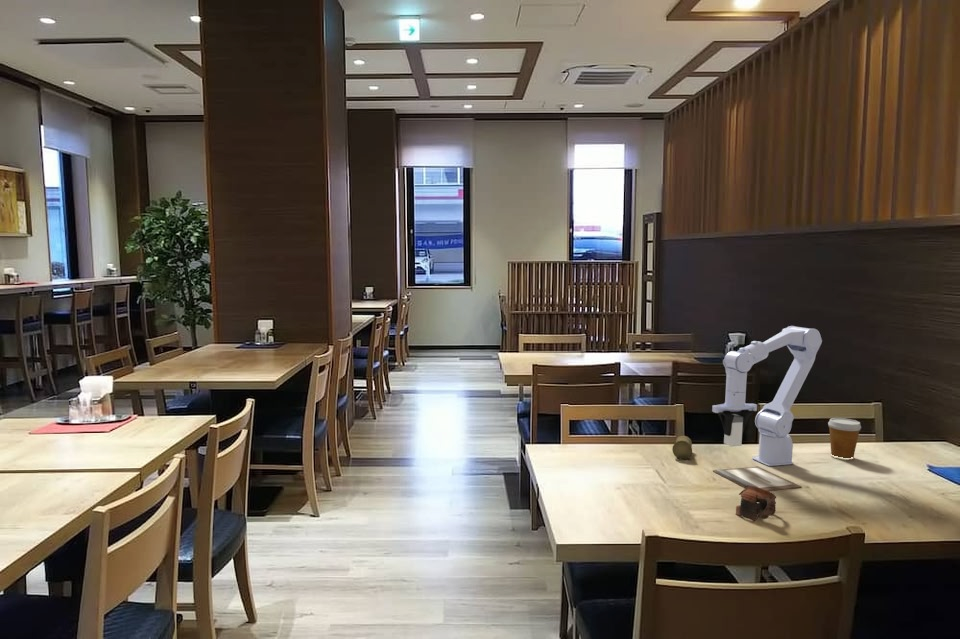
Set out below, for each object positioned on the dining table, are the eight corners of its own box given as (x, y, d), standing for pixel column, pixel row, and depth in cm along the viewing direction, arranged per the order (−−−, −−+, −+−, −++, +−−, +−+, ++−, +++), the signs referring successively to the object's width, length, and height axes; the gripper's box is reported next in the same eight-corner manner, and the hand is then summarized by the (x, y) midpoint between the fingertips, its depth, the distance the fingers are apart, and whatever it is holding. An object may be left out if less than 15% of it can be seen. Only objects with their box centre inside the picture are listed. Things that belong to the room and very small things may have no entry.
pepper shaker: (689, 461, 208) (691, 453, 218) (694, 443, 207) (695, 436, 217) (670, 456, 210) (672, 448, 220) (674, 438, 209) (676, 431, 219)
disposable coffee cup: (865, 462, 209) (867, 425, 208) (835, 461, 210) (837, 424, 208) (848, 453, 219) (851, 417, 218) (820, 452, 219) (822, 417, 218)
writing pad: (757, 467, 202) (757, 464, 201) (801, 487, 184) (801, 484, 184) (712, 471, 197) (712, 468, 197) (753, 492, 180) (753, 489, 180)
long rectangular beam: (733, 442, 204) (735, 414, 204) (741, 445, 201) (743, 417, 200) (723, 443, 203) (725, 414, 203) (731, 446, 200) (732, 417, 199)
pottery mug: (725, 512, 167) (735, 481, 169) (755, 527, 168) (765, 496, 170) (754, 518, 156) (765, 485, 158) (787, 534, 157) (797, 501, 159)
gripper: (747, 387, 206) (744, 429, 208) (707, 389, 202) (704, 432, 204) (762, 392, 200) (760, 435, 201) (721, 393, 196) (718, 438, 197)
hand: (733, 434), depth 202 cm, fingers closed on long rectangular beam, 4 cm apart
